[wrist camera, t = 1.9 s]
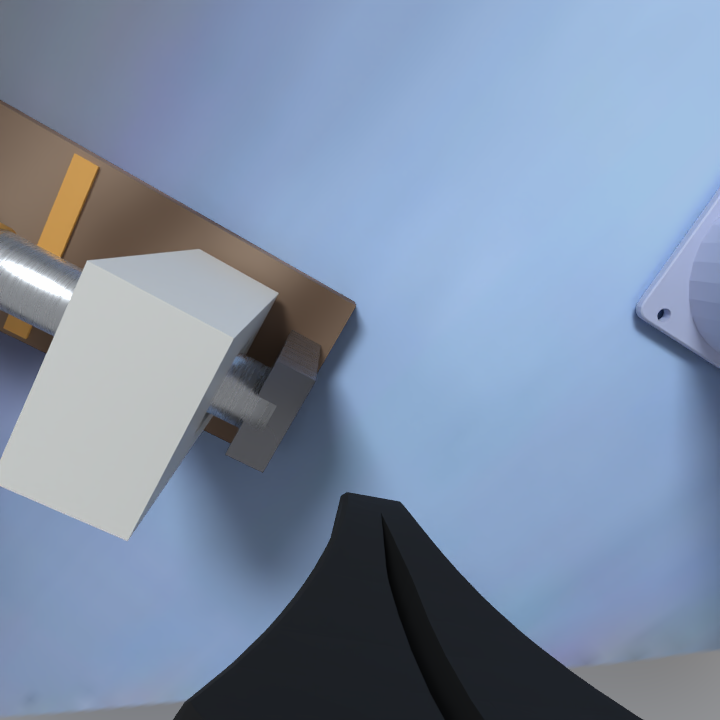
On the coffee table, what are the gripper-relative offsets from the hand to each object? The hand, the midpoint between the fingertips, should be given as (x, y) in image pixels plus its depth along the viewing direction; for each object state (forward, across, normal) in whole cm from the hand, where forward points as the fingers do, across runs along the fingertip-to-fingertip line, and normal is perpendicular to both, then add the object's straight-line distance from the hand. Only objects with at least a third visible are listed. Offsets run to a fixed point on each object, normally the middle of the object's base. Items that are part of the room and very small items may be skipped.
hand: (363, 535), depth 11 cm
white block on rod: (+7, +6, -2) cm, 10 cm away
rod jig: (+9, +9, -3) cm, 13 cm away
